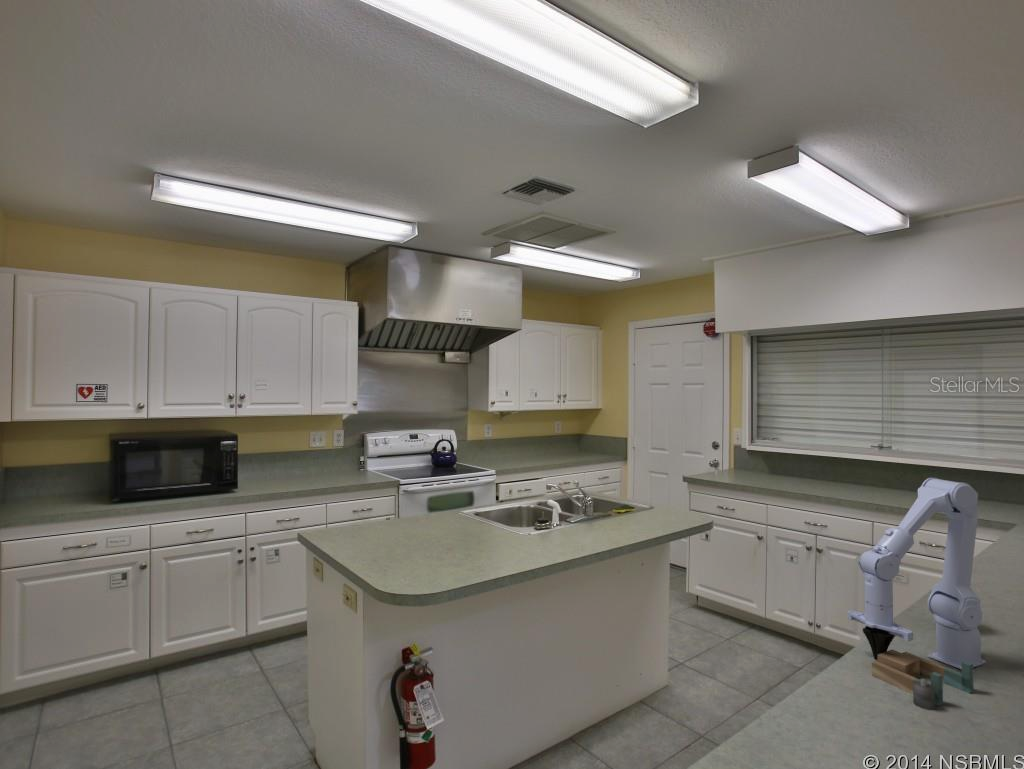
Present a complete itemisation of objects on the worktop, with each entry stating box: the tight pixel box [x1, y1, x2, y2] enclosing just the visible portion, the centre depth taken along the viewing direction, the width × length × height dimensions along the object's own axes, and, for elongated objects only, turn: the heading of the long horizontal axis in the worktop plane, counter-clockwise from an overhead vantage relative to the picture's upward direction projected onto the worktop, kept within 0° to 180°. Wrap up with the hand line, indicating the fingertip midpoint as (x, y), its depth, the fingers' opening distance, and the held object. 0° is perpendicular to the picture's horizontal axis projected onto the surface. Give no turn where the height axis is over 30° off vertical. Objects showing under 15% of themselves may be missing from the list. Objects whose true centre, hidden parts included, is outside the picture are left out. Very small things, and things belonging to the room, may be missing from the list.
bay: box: [871, 651, 975, 710], centre depth 126 cm, size 17×14×6 cm
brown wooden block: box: [877, 649, 921, 679], centre depth 132 cm, size 6×6×4 cm
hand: (879, 659), depth 136 cm, fingers closed
